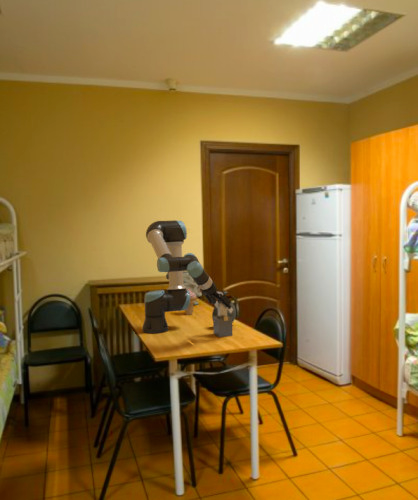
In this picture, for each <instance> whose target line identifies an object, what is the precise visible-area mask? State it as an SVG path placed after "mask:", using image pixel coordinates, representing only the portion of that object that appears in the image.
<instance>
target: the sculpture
mask: <svg viewBox="0 0 418 500" xmlns="http://www.w3.org/2000/svg"><path fill="white" fill-rule="evenodd" d="M165 279H166V280H169V272H166V274H165ZM183 284H184V286H185V287H186V290H187V289H191V292H193V293H195V294H196V297H197V298H199V297H202V295H203V294H202V290H201V288H200V287H199V286H198V285H197V283H196V282H195V281H194V280H193V278H192V277H191V276H190V275H189V274H188V272H187V271H183ZM197 298H196V299H195V300H196V302H195V303H194V306H198V305H199V301H198V300H197Z"/></svg>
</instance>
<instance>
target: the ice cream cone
mask: <svg viewBox="0 0 418 500" xmlns="http://www.w3.org/2000/svg"><path fill="white" fill-rule="evenodd" d="M187 291H189V293H190V304H189V307H188V308H187V309H186V310H184V313H185V315H186V316H191V315H193V313H194V306H195V305H194V303H195V302H196V301H197V298H198V296H197V297H196V294H195V293H193V292H191V289H187ZM195 299H196V300H195Z"/></svg>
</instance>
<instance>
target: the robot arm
mask: <svg viewBox="0 0 418 500" xmlns="http://www.w3.org/2000/svg"><path fill="white" fill-rule="evenodd" d="M187 232H188V231H187V227H186V225H185V223H184V222H183V220H156V221H154V222H152V223H151V224H150V225H148V227H147V229H146V231H145V237H146V239H147V242H148V243H149V244H150V245H151V246H152V248H153V250H154V253H155V255H156V257H157V260H156V268H157V271H158V272H159V273H168V272H169V279H168V284H169V285H168V287H167V288H166V291H165V290H164V289H156V290H155V289H154V290H150V291H148V292H146V293H145V294H144V301H143V302H144V322H143V324H142V332H143V333H146V334H162V333H165V332H167V331H169V325H168V322H167V319H166V313H168V312H178V311H179V312H181V311H185V310H186V309H187V308H188V307H189V304H190V293H189V291H187V290H186V287H185V286H184V284H183V271H187V272H188V274H189V275H190V276H191V277H192V278H193V280H194V281H195V282H196V283H197V285H198V288H199V287H200V291H201V293H202V295H203V296H204V297H205V298H206V300H207V301H208V303H209V304H212V305H213V306H214V307H216V308H217V309H218V300H219V301H221V302H222V303H223V304H224V305H225V307H226V309H227V310H228V311H229V313H232V311H233V309H232V307H231V305H230V303H231V302H232V301H231V300H230V299H229V298H228V296H227V294H226V295H225V294H224V292H225V291H224V290H221V291H219V289H217V285H216V283H215V282H214V280H212V278H211V277H210V275H209V274H208V273H207V271H206V270H205V269H204V267H203V265H202V264H201V263H200V261H199V259H198V257H197V256H196V255H195V254H194V253H192V252H188V253H186V254H184V255H183V250H182V247H183V246H182V245H183V244H184V242H185V241H184V240H186V239H187V237H188V235H187V234H188V233H187Z"/></svg>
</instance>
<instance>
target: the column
mask: <svg viewBox="0 0 418 500" xmlns="http://www.w3.org/2000/svg"><path fill="white" fill-rule="evenodd" d="M217 301H218V318H223V317H226V316H227V309H226V307H225V305H224V304H223V303H222V302H221V301H219V300H218V299H217Z"/></svg>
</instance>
